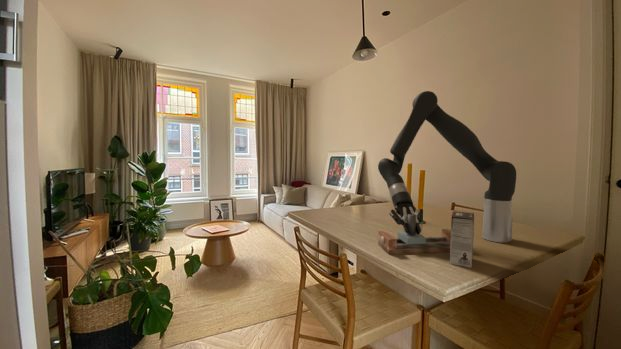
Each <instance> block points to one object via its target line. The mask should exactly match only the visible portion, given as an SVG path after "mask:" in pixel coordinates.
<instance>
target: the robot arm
mask: <svg viewBox="0 0 621 349" xmlns="http://www.w3.org/2000/svg"><path fill="white" fill-rule="evenodd" d="M438 102H439V101H438V96H437V95H436V93H434V92H433V91H429V90H426V91H425V90H424V91H422V92H419V94H417V95H416V97H414V99H413V100H412V109H411V113H410V114H409V117H408V118H407V120H406V123H405V124H404V126H403V127H402V129H401V131H400V132H399V133H398V135H397V137H396V138H395V140H394V142H393V144H392V146H391V148H390V149H389V152H390V154H391V155H393V159H390V158H387V157H386V158H382V159H381V160H379V162H378V165H377V170H378V172H379V174H380V176H381V177H382V179H383V180H384V181H385V183H386V185H387V188H388V192H389V195H390V196H389V197H390V199H391V202H392V205H393V208H394V209H390V212H389V214H388V215H389V216H390V217H391V218H392V219H393V221H394V222H395V223H396V225H398V226H400V225H401V226H402V227H403V229H404V230H403V231H405V232H406V233H407V234H408V235H410V234H411V229H410V227H409V224H408V223H407V220H408V214H415V215H416V234H421V232H422V228H421V226H420V225H421V224H422V222H423V221H424V220H423V219H424V218H423V217H424V209H423V208H420V209H419V208H418V209H417V208H416V206H414V201H413V199H412V197H411V195H410V192H409V190H408V188H407V186H406V184H405V181H404V179H403V177H402V176H401V172H402V168H403V165H404V162H405V157H406V155H407V153H408V151H409V149H410V148H411V146H412V144H413V142H414V141H415V138H416V136H417V135H418V132H419V130H420V129H421V128H422V126H423V124H424V123H425V122H426V121H427V122H428V123H430V125H431V126H433V128H434V129H435V130H436V131H437V132H438V134H440V136H441V137H442V138H443V139H445V141H447V143H449V144H450V145H451V147H453V148H454V149H455V150H456V151H457V152H458V153H459V154H461V155H462V156H463V157H465V159H466V160H468V161H469V162H470V163H471V164H472V165H473V166H474V167H475V169H476V170H477V171H478V172H479V173H480V174H481V176H482V177H484V179H486V181H488V182H489V186H488V189H487V190H486V191H485V192H484V195H483V196H484V197H483V199H484V200H483V217H482V218H483V219H482V221H483V222H482V239H485V240H487V241H490V242H493V243H494V242H495V243H500V244H501V243H504V244H505V243H509V242H512V241H513V226H514V224H513V220H514V219H513V218H512V202H513V196H514V194H515V191H516V183H517V169H516V167H515V165H514V164H513V163H512V162H509V161H505V160H504V161H503V160H497V159H496V158H494V157H493V156H492V155H491V154H489V153H488V152H487V151H486V150H485V148H484V147H483V145H482V143H481V141H480V140H479V138H478V136H477V135H476V133H474V131H472V130H471V129H470V128H469V126H467V125H466V124H464V123H463V122H462V121H460V120H459V119H456V118H455V117H453V116H452V115H450V114H449V113H447V112H445V110H444V109H442V108H441V107H440V105H439V104H438Z"/></svg>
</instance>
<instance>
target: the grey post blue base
mask: <svg viewBox="0 0 621 349" xmlns="http://www.w3.org/2000/svg"><path fill="white" fill-rule="evenodd" d="M416 218H417V214H416V213H415V214H408V218H407V223H408V224H409V227H410V229H411V234H410V235H408V234H407V233H406V232H405V230H403V231H401V230H400V231H397V239H398V238H399V239H401V240H402V241H403V242H405V243H406V244H426V238H427V236H424V235H422V234H421V233H420V234H416Z"/></svg>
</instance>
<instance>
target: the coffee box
mask: <svg viewBox="0 0 621 349" xmlns="http://www.w3.org/2000/svg"><path fill="white" fill-rule="evenodd" d="M450 220H451V224H450V226H451V228H450V230H451V246H450V252H449V265H454V266H455V265H456V266H459V267H465V268H470V269H472V268H473V254H474V253H473V252H474V236H475V234H474V233H475V232H474V230H475V214H474V212H466V211H452V214H451V219H450Z"/></svg>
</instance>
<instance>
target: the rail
mask: <svg viewBox="0 0 621 349" xmlns="http://www.w3.org/2000/svg"><path fill="white" fill-rule="evenodd" d="M377 232H378V233H377V234H378V235H377V236H378V237H377V238H378V239H377V240H378V243H377V244H378V246H379V247H380V248H381V249H382V250H383V251H384V252H385V253H386V254H387V255H401V254H402V255H404V254H407V255H408V254H409V255H410V254H425V253H426V254H429V253H431V254H432V253H450V246H451V228H443V229H441V236H434V237H432V236H431V237H430V236H429V237H427V236H426V244H406V243H405V242H403V241H402V240H401V239H399V238H398V237H397V238H396V237H394V236H393V235H392V234H390V233H389V232H388V231H386V230H378V231H377Z"/></svg>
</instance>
